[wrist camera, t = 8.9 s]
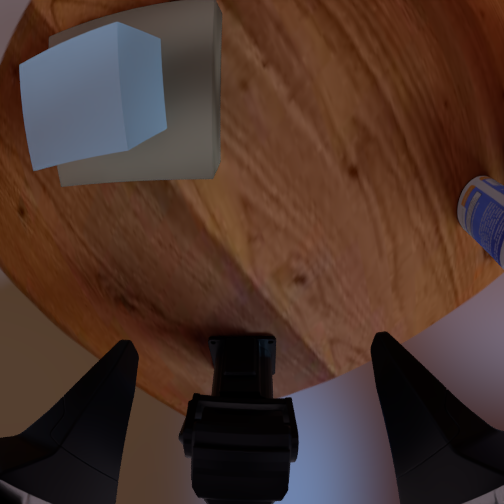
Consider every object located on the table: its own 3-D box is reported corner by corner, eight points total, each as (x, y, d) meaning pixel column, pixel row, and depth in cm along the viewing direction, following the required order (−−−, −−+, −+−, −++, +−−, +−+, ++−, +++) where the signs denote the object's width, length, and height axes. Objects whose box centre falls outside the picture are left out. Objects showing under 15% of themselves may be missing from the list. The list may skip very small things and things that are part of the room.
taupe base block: (221, 160, 18) (212, 179, 15) (90, 167, 18) (61, 186, 15) (222, 15, 13) (214, -3, 9) (82, 40, 13) (49, 36, 9)
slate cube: (167, 128, 13) (128, 150, 9) (87, 143, 13) (33, 171, 9) (160, 38, 10) (117, 21, 6) (78, 62, 11) (19, 64, 6)
